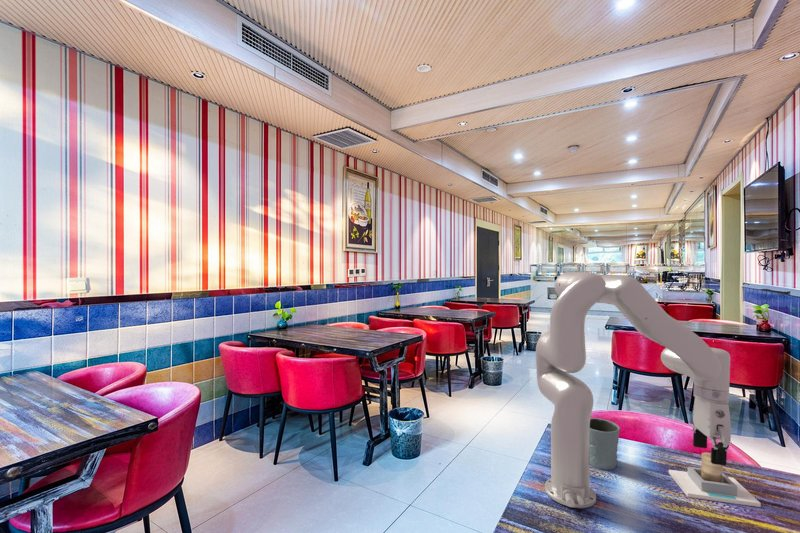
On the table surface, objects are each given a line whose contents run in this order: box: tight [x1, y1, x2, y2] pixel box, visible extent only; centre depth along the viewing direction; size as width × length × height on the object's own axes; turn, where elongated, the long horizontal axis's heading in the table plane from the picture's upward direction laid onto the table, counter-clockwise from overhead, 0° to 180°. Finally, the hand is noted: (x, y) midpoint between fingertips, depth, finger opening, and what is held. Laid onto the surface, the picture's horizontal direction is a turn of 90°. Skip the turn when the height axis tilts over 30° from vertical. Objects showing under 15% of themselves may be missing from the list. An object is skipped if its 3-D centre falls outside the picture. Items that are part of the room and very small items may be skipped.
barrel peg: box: [700, 452, 723, 483], centre depth 104 cm, size 4×4×8 cm
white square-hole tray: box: [668, 466, 762, 508], centre depth 104 cm, size 12×16×4 cm
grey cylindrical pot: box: [590, 417, 620, 471], centre depth 118 cm, size 10×10×12 cm
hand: (708, 455), depth 104 cm, fingers open, 9 cm apart
